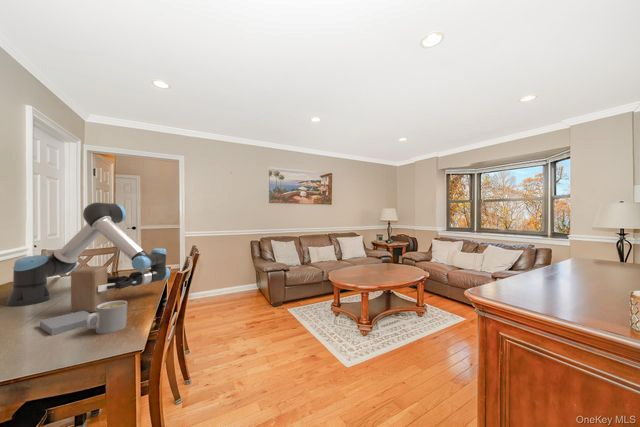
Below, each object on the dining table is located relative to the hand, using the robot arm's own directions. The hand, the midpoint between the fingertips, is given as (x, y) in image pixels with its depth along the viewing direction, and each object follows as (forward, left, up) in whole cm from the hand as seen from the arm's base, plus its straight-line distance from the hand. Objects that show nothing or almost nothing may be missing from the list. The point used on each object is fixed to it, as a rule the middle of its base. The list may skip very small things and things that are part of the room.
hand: (91, 286), depth 121 cm
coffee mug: (+29, -5, -12) cm, 32 cm away
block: (0, 0, -11) cm, 11 cm away
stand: (+11, -11, -12) cm, 19 cm away
